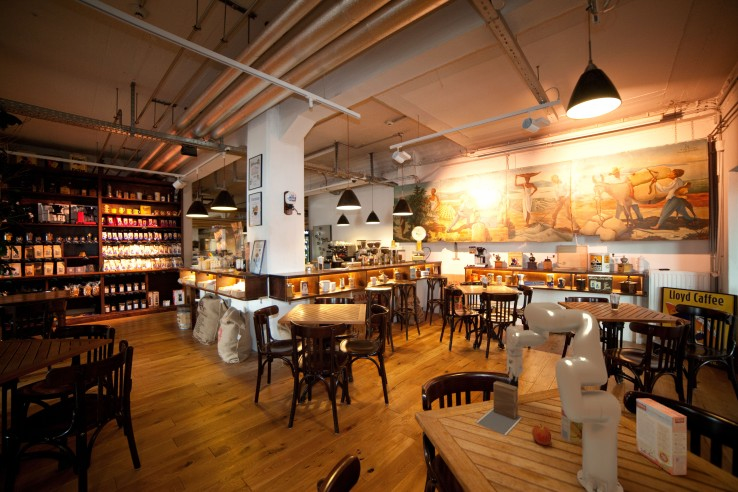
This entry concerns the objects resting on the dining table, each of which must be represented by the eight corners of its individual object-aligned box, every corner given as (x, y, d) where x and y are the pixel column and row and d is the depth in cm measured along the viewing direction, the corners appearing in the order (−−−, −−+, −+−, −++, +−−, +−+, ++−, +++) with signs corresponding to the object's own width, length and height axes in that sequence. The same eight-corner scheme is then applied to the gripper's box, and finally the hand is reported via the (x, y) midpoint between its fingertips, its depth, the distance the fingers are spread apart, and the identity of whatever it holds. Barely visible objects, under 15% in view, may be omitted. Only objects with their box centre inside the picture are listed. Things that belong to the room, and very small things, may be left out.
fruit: (552, 441, 129) (552, 422, 129) (550, 450, 123) (550, 430, 123) (533, 436, 133) (533, 417, 133) (531, 444, 127) (531, 425, 127)
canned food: (588, 441, 129) (588, 412, 129) (573, 445, 127) (573, 415, 127) (570, 431, 136) (570, 403, 136) (556, 434, 134) (556, 406, 134)
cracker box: (688, 475, 110) (687, 416, 110) (672, 476, 109) (671, 416, 109) (649, 450, 124) (649, 397, 124) (635, 450, 123) (635, 397, 123)
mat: (506, 436, 132) (506, 435, 132) (475, 423, 142) (475, 422, 142) (523, 418, 146) (523, 417, 146) (493, 407, 156) (493, 406, 156)
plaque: (514, 420, 144) (514, 389, 144) (493, 412, 151) (493, 383, 151) (517, 416, 147) (517, 387, 147) (496, 409, 154) (496, 380, 154)
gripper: (516, 357, 149) (516, 395, 149) (527, 349, 160) (527, 385, 160) (500, 353, 155) (500, 390, 155) (512, 346, 165) (512, 381, 165)
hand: (514, 387), depth 157 cm, fingers closed
